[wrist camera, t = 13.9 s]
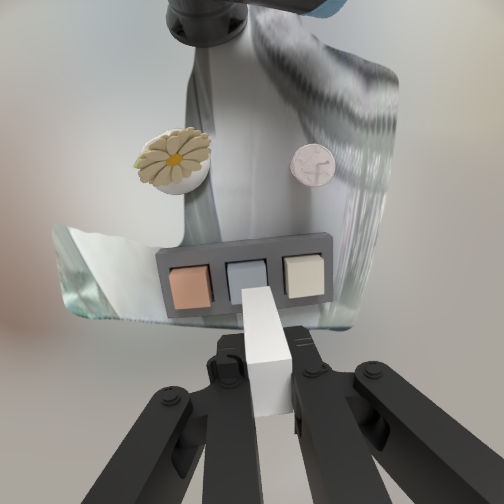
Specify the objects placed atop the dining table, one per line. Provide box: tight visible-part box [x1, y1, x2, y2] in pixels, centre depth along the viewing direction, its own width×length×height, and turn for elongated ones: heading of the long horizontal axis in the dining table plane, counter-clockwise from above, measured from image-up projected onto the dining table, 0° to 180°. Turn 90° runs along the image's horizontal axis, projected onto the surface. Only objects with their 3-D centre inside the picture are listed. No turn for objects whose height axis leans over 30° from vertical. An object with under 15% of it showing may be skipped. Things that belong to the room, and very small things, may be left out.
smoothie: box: [290, 144, 335, 187], centre depth 42 cm, size 6×6×14 cm
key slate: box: [227, 258, 267, 305], centre depth 49 cm, size 6×6×5 cm
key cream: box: [283, 253, 324, 299], centre depth 49 cm, size 6×6×5 cm
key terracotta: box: [169, 264, 212, 309], centre depth 48 cm, size 6×6×5 cm
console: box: [155, 232, 333, 318], centre depth 51 cm, size 12×30×4 cm, turn 95°
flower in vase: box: [133, 127, 211, 195], centre depth 35 cm, size 13×11×25 cm
